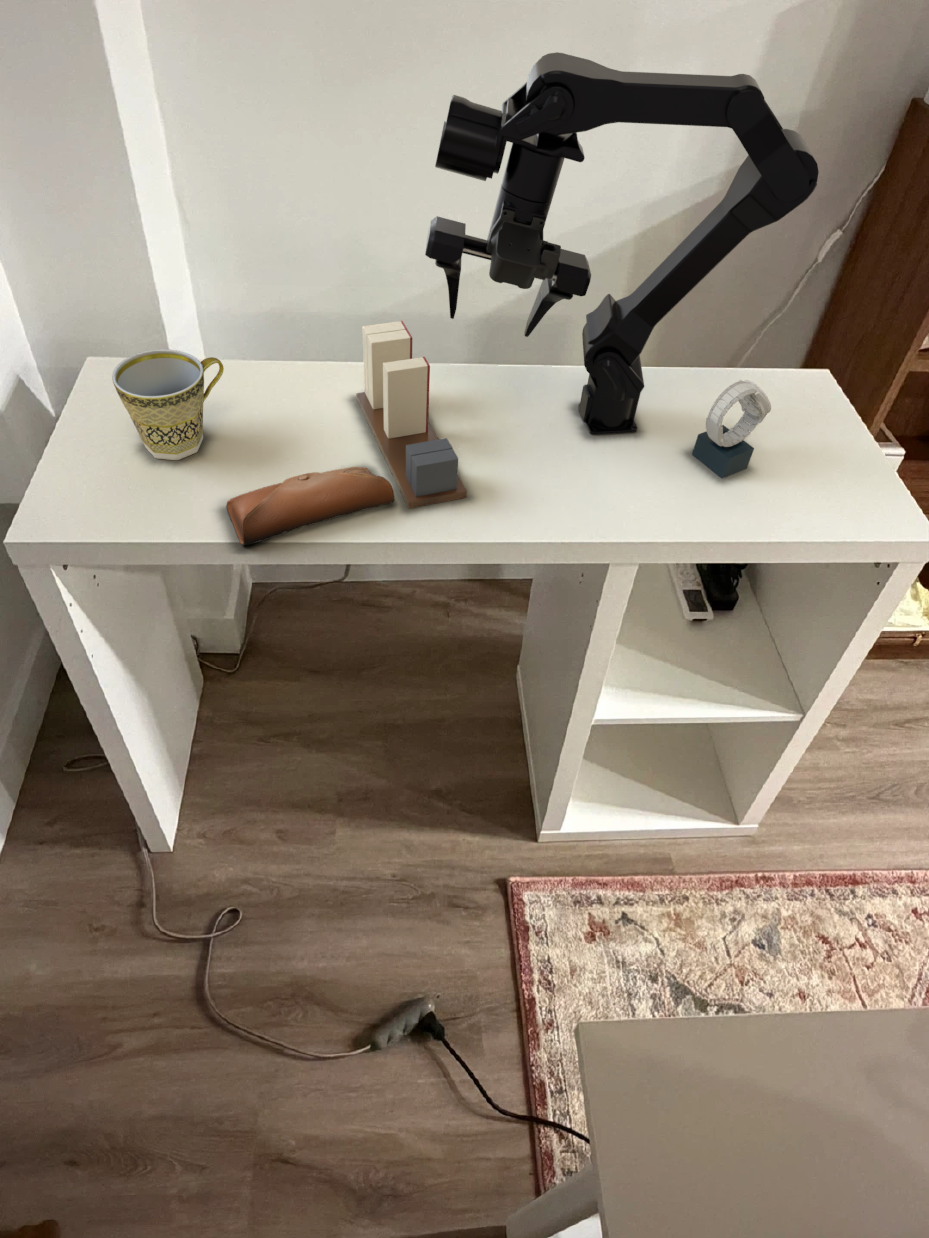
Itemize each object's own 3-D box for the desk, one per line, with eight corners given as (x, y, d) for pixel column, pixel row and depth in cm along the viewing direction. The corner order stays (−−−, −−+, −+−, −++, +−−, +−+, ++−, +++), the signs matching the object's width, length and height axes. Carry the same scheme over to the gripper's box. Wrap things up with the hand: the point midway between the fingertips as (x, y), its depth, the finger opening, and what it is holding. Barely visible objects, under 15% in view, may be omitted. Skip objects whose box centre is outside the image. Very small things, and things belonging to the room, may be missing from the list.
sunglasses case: (366, 462, 104) (376, 439, 98) (387, 515, 103) (399, 495, 97) (220, 502, 98) (221, 480, 92) (241, 559, 97) (244, 540, 91)
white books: (402, 386, 115) (402, 320, 108) (411, 403, 112) (412, 337, 105) (364, 392, 113) (362, 326, 106) (373, 410, 111) (371, 343, 104)
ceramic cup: (157, 480, 101) (138, 408, 93) (117, 439, 105) (96, 366, 98) (253, 440, 107) (242, 369, 99) (211, 402, 111) (198, 332, 104)
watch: (757, 463, 109) (786, 389, 101) (711, 483, 106) (737, 407, 98) (726, 440, 112) (752, 365, 104) (681, 458, 109) (704, 382, 101)
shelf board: (408, 391, 116) (408, 385, 115) (466, 497, 102) (467, 491, 101) (356, 399, 114) (356, 393, 113) (408, 508, 100) (408, 502, 99)
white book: (422, 423, 109) (424, 356, 102) (428, 432, 108) (430, 365, 101) (383, 429, 108) (382, 362, 101) (388, 439, 107) (387, 372, 100)
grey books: (445, 468, 104) (446, 437, 100) (456, 489, 101) (458, 458, 98) (405, 475, 102) (405, 444, 99) (416, 497, 100) (416, 466, 96)
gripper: (440, 194, 85) (409, 339, 96) (617, 241, 88) (568, 376, 99) (443, 160, 93) (414, 297, 104) (605, 204, 96) (561, 333, 107)
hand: (489, 326), depth 103 cm, fingers open, 9 cm apart
